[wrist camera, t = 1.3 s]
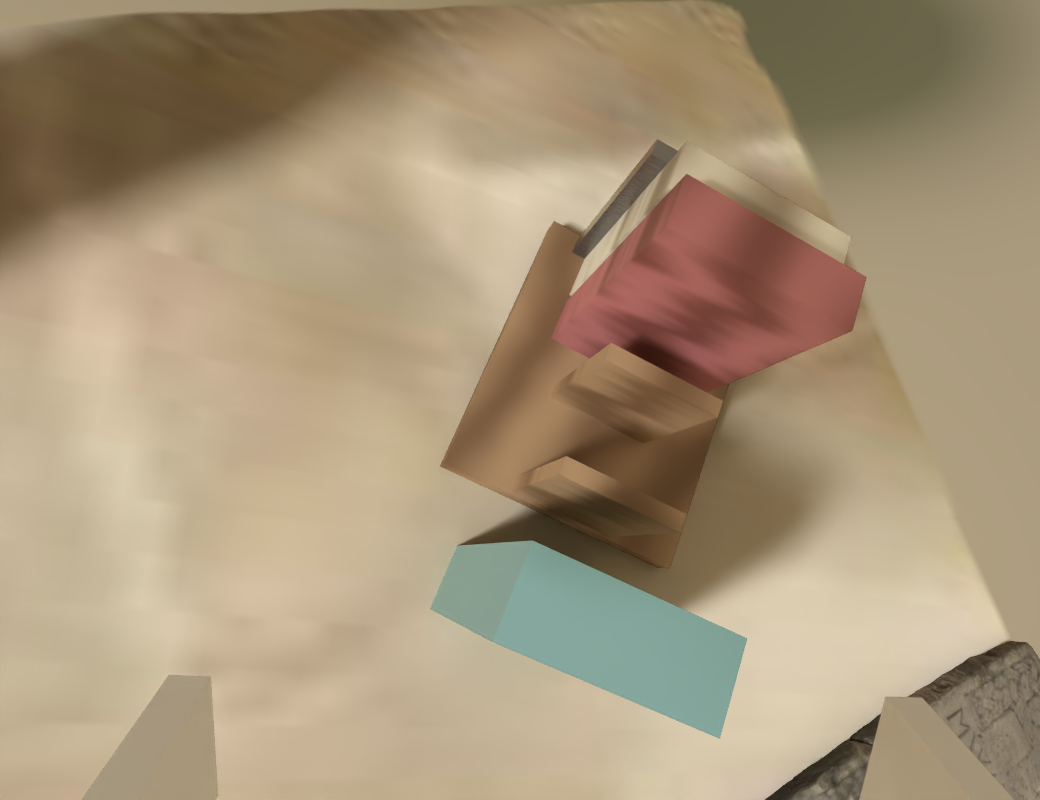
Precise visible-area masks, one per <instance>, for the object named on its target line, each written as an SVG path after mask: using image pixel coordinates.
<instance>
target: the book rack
mask: <svg viewBox="0 0 1040 800" xmlns="http://www.w3.org/2000/svg"><path fill="white" fill-rule="evenodd" d="M850 240H851V236H849V235H847V234H845V233H844V232H842V231H840V230H839V229H837V228H835V227H834V226H832V225H830V224H828V223H827V222H825V221H823V220H822V219H820V218H818V217H816V216H815V215H813V214H811V213H810V212H808V211H806V210H804V209H803V208H801V207H799V206H798V205H796V204H794V203H793V202H791V201H789V200H787V199H786V198H784V197H782V196H781V195H779V194H777V193H775V192H774V191H772V190H770V189H769V188H767V187H765V186H763V185H762V184H760V183H758V182H757V181H755V180H753V179H752V178H750V177H748V176H746V175H745V174H743V173H741V172H740V171H738V170H736V169H734V168H733V167H731V166H729V165H728V164H726V163H724V162H722V161H721V160H719V159H717V158H716V157H714V156H712V155H711V154H709V153H707V152H705V151H704V150H702V149H700V148H699V147H697V146H695V145H693V144H692V143H690V142H688V141H687V142H686V143H685V144H684V145H683V146H682V148H681V149H680V150H679V151H677V150H675V149H673V148H672V147H670V146H668V145H666V144H665V143H663V142H661V141H659V140H658V139H657V140H656V142H655V143H654V144H653V145H652V147H651V148H650V149H649V151H648V152H647V153H646V154H645V156H644V157H643V158H642V159H641V161H640V162H639V163H638V164H637V166H636V167H635V168H634V169H633V171H632V172H631V173H630V174H629V176H628V177H627V178H626V180H625V181H624V182H623V183H622V185H621V186H620V187H619V188H618V190H617V191H616V192H615V193H614V195H613V196H612V197H611V198H610V200H609V201H608V202H607V203H606V205H605V206H604V207H603V209H602V210H601V211H600V212H599V214H598V215H597V216H596V217H595V219H594V220H593V221H592V222H591V224H590V225H589V226H588V227H587V229H586V230H585V231H584V232H583V234H582V235H579V234H577V233H575V232H573V231H571V230H570V229H568V228H566V227H564V226H562V225H560V224H559V223H557V222H555V221H554V222H553V224H552V225H551V227H550V228H549V230H548V231H547V233H546V235H545V238H544V240H543V242H542V244H541V246H540V249H539V251H538V253H537V255H536V257H535V260H534V262H533V264H532V266H531V268H530V271H529V273H528V275H527V277H526V279H525V281H524V284H523V286H522V288H521V290H520V292H519V295H518V297H517V299H516V301H515V303H514V306H513V308H512V310H511V312H510V314H509V317H508V319H507V321H506V323H505V325H504V327H503V330H502V332H501V334H500V336H499V338H498V341H497V343H496V345H495V347H494V349H493V352H492V354H491V356H490V358H489V360H488V363H487V365H486V367H485V369H484V371H483V373H482V376H481V378H480V380H479V382H478V384H477V387H476V389H475V391H474V393H473V395H472V398H471V400H470V402H469V404H468V406H467V409H466V411H465V413H464V415H463V417H462V419H461V422H460V424H459V426H458V428H457V430H456V433H455V435H454V437H453V439H452V441H451V444H450V446H449V448H448V450H447V452H446V455H445V457H444V459H443V461H442V463H441V465H440V466H441V467H443V468H445V469H448V470H450V471H452V472H454V473H456V474H458V475H460V476H463V477H465V478H467V479H469V480H471V481H473V482H475V483H478V484H480V485H482V486H484V487H486V488H488V489H491V490H493V491H495V492H497V493H499V494H501V495H503V496H506V497H508V498H510V499H512V500H514V501H516V502H519V503H521V504H523V505H525V506H527V507H529V508H531V509H534V510H536V511H538V512H540V513H542V514H544V515H546V516H549V517H551V518H553V519H555V520H557V521H559V522H562V523H564V524H566V525H568V526H570V527H572V528H574V529H577V530H579V531H581V532H583V533H585V534H587V535H589V536H592V537H594V538H596V539H598V540H600V541H602V542H605V543H607V544H609V545H611V546H613V547H615V548H617V549H620V550H622V551H624V552H626V553H628V554H630V555H633V556H635V557H637V558H639V559H641V560H643V561H645V562H648V563H650V564H652V565H654V566H656V567H658V568H670V566H671V563H672V560H673V557H674V553H675V550H676V547H677V544H678V541H679V538H680V535H681V532H682V529H683V525H684V522H685V519H686V516H687V513H688V510H689V507H690V504H691V501H692V497H693V494H694V491H695V488H696V485H697V482H698V479H699V476H700V472H701V469H702V466H703V463H704V460H705V457H706V454H707V451H708V448H709V444H710V441H711V438H712V435H713V432H714V429H715V426H716V423H717V420H718V416H719V413H720V410H721V407H722V404H723V401H724V398H725V395H726V391H727V388H728V385H729V383H731V382H733V381H736V380H738V379H740V378H743V377H745V376H747V375H750V374H752V373H754V372H757V371H759V370H761V369H764V368H766V367H768V366H771V365H773V364H775V363H778V362H780V361H782V360H785V359H787V358H790V357H792V356H794V355H797V354H799V353H801V352H804V351H806V350H808V349H811V348H813V347H815V346H818V345H820V344H822V343H825V342H827V341H829V340H832V339H834V338H836V337H839V336H841V335H843V334H846V333H848V332H851V331H852V330H853V326H854V323H855V319H856V315H857V311H858V307H859V304H860V300H861V296H862V292H863V288H864V284H865V281H866V277H865V276H863V275H862V274H860V273H858V272H856V271H855V270H853V269H851V268H850V267H848V266H846V265H844V262H845V259H846V255H847V251H848V248H849V244H850Z"/></svg>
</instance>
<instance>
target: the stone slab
mask: <svg viewBox="0 0 1040 800" xmlns="http://www.w3.org/2000/svg"><path fill="white" fill-rule="evenodd" d="M909 697H916V698H923V699H924V700H925V701H926V702H927V703H928V705H929V706H930V707H931V708H932V709H933V710H934V711H935V712H936V713H937V715H938V716H939V717H940V718H941V719H942V720H943V721H944V722H945V723H946V725H947V726H948V727H949V728H950V729H951V730H952V731H953V732H954V733H955V735H956V736H957V737H958V738H959V739H960V740H961V741H962V742H963V743H964V745H965V746H966V747H967V748H968V749H969V750H970V751H971V752H972V753H973V755H974V756H975V757H976V758H977V759H978V760H979V761H980V762H981V763H982V765H983V766H984V767H985V768H986V769H987V770H988V771H989V772H990V773H991V774H992V776H993V777H994V778H995V779H996V780H997V781H998V782H999V783H1000V784H1001V786H1002V787H1003V788H1004V789H1005V790H1006V791H1007V792H1008V793H1009V794H1010V796H1011V797H1012V798H1013V799H1014V800H1040V659H1039V658H1038V656H1037V655H1036V653H1035V651H1034V650H1033V648H1032V647H1031V646H1030V645H1029V644H1028V643H1026V642H1014V641H1010V642H1009V643H1005V644H1003V645H1000V646H998V647H994V648H993V649H991V650H989V651H988V652H987V653H986V654H982V655H978V656H974V657H970V658H968V659H967V660H966V661H964V662H963V663H962V664H960V665H958V666H957V667H955V668H954V669H953V670H951V671H949V672H948V673H946V674H943V675H941V676H940V678H937V679H936V680H935V681H934V682H932V683H931V684H929V685H928V686H926V687H923V688H921V689H919V690H917V691H916V692H915V693H914V694H912V695H910V696H909ZM880 716H881V715H878V716H877V717H876V718H875V719H874V720H872V721H871V722H870V723H869V724H867V725H865V726H864V727H863V728H862V729H860V730H858V731H857V733H855V734H853V735H852V736H851V737H850V740H849V741H845V742H843V743H841V744H840V745H839V746H837V747H836V748H835V749H833V750H832V751H831V752H830V753H829V754H827V755H826V756H825V757H823V758H821V759H820V760H819V761H818V762H816V763H814V764H812V765H811V766H809V767H807V769H805V770H803V771H802V772H801V773H800V774H798V775H797V776H795V777H794V778H793V780H791V781H789V782H788V783H786V784H785V785H783V786H782V787H781V788H780V789H779V790H777V791H776V792H775V793H774V794H772V795H771V796H769V797H768V798H766V799H765V800H859V799H860V795H861V791H862V787H863V783H864V779H865V776H866V772H867V768H868V764H869V760H870V756H871V752H872V748H873V744H874V740H875V736H876V732H877V728H878V724H879V720H880Z"/></svg>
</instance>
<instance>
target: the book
mask: <svg viewBox="0 0 1040 800" xmlns="http://www.w3.org/2000/svg"><path fill="white" fill-rule="evenodd" d="M430 609H431V610H433V611H435V612H437V613H439V614H441V615H443V616H445V617H446V618H448V619H450V620H452V621H454V622H456V623H458V624H460V625H462V626H463V627H465V628H467V629H469V630H471V631H473V632H475V633H477V634H478V635H480V636H482V637H484V638H486V639H488V640H490V641H492V642H494V643H496V644H498V645H501V646H503V647H505V648H508V649H510V650H512V651H515V652H517V653H520V654H522V655H524V656H527V657H529V658H531V659H534V660H536V661H538V662H541V663H543V664H545V665H548V666H550V667H552V668H555V669H557V670H559V671H562V672H564V673H567V674H569V675H571V676H574V677H576V678H578V679H581V680H583V681H585V682H588V683H590V684H592V685H595V686H597V687H599V688H602V689H604V690H607V691H609V692H611V693H614V694H616V695H618V696H621V697H623V698H625V699H628V700H630V701H632V702H635V703H637V704H639V705H642V706H644V707H646V708H649V709H651V710H654V711H656V712H658V713H661V714H663V715H665V716H668V717H670V718H672V719H675V720H677V721H679V722H682V723H684V724H686V725H689V726H691V727H693V728H696V729H698V730H701V731H703V732H705V733H708V734H710V735H712V736H715V737H717V738H719V739H720V736H721V732H722V729H723V725H724V721H725V718H726V714H727V710H728V707H729V703H730V699H731V696H732V692H733V688H734V685H735V681H736V677H737V674H738V670H739V666H740V663H741V659H742V655H743V652H744V648H745V644H746V641H747V638H745V637H743V636H741V635H738V634H736V633H734V632H732V631H730V630H727V629H725V628H723V627H721V626H719V625H717V624H714V623H712V622H710V621H708V620H706V619H703V618H701V617H699V616H697V615H695V614H692V613H690V612H688V611H686V610H684V609H682V608H679V607H677V606H675V605H673V604H671V603H668V602H666V601H664V600H662V599H660V598H657V597H655V596H653V595H651V594H649V593H646V592H644V591H642V590H640V589H638V588H636V587H633V586H631V585H629V584H627V583H625V582H622V581H620V580H618V579H616V578H614V577H611V576H609V575H607V574H605V573H603V572H600V571H598V570H596V569H594V568H592V567H590V566H587V565H585V564H583V563H581V562H579V561H576V560H574V559H572V558H570V557H568V556H565V555H563V554H561V553H559V552H557V551H554V550H552V549H550V548H548V547H546V546H544V545H541V544H539V543H537V542H535V541H533V540H532V541H517V542H503V543H488V544H474V545H459V546H457V548H456V550H455V552H454V555H453V557H452V559H451V562H450V564H449V566H448V569H447V571H446V573H445V576H444V578H443V580H442V583H441V585H440V587H439V590H438V592H437V594H436V597H435V599H434V601H433V604H432V606H431V608H430Z"/></svg>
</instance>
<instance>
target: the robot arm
mask: <svg viewBox="0 0 1040 800" xmlns="http://www.w3.org/2000/svg"><path fill="white" fill-rule="evenodd" d="M217 796H218V788H217V771H216V755H215V738H214V721H213V705H212V688H211V676H179V675H169V676H168V677H167V678H166V680H165V681H164V683H163V684H162V686H161V687H160V688H159V690H158V691H157V693H156V694H155V696H154V697H153V698H152V700H151V701H150V703H149V704H148V706H147V707H146V708H145V710H144V711H143V713H142V714H141V716H140V717H139V718H138V720H137V721H136V723H135V724H134V726H133V727H132V728H131V730H130V731H129V733H128V734H127V736H126V737H125V738H124V740H123V741H122V743H121V744H120V746H119V747H118V748H117V750H116V751H115V753H114V754H113V756H112V757H111V758H110V760H109V761H108V763H107V764H106V766H105V767H104V768H103V770H102V771H101V773H100V774H99V776H98V777H97V778H96V780H95V781H94V783H93V784H92V786H91V787H90V788H89V790H88V791H87V793H86V794H85V796H84V797H83V798H82V800H216V798H217ZM859 800H1014V799H1013V798H1012V797H1011V796H1010V794H1009V793H1008V792H1007V791H1006V790H1005V789H1004V788H1003V787H1002V786H1001V784H1000V783H999V782H998V781H997V780H996V779H995V778H994V777H993V776H992V774H991V773H990V772H989V771H988V770H987V769H986V768H985V767H984V766H983V765H982V763H981V762H980V761H979V760H978V759H977V758H976V757H975V756H974V755H973V753H972V752H971V751H970V750H969V749H968V748H967V747H966V746H965V745H964V743H963V742H962V741H961V740H960V739H959V738H958V737H957V736H956V735H955V733H954V732H953V731H952V730H951V729H950V728H949V727H948V726H947V725H946V723H945V722H944V721H943V720H942V719H941V718H940V717H939V716H938V715H937V713H936V712H935V711H934V710H933V709H932V708H931V707H930V706H929V705H928V703H927V702H926V701H925V700H924V699H923V698H916V697H885V700H884V704H883V708H882V712H881V716H880V720H879V724H878V728H877V732H876V736H875V740H874V744H873V748H872V752H871V756H870V760H869V764H868V768H867V772H866V776H865V779H864V783H863V787H862V791H861V795H860V799H859Z"/></svg>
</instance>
